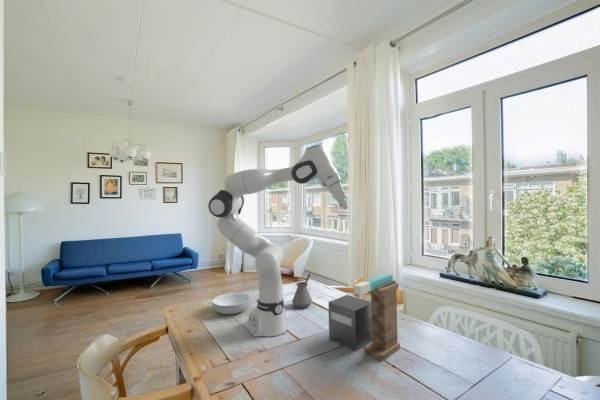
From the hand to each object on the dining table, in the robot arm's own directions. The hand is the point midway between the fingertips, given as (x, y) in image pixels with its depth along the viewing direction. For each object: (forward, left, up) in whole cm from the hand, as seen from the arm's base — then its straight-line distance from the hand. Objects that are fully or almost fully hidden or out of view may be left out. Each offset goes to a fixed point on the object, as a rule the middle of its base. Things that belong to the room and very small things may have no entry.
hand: (344, 207), depth 121 cm
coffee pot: (-44, +17, -57) cm, 74 cm away
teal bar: (+16, -2, -31) cm, 35 cm away
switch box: (+2, +1, -57) cm, 57 cm away
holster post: (+16, +2, -57) cm, 59 cm away
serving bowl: (-64, -20, -57) cm, 88 cm away
